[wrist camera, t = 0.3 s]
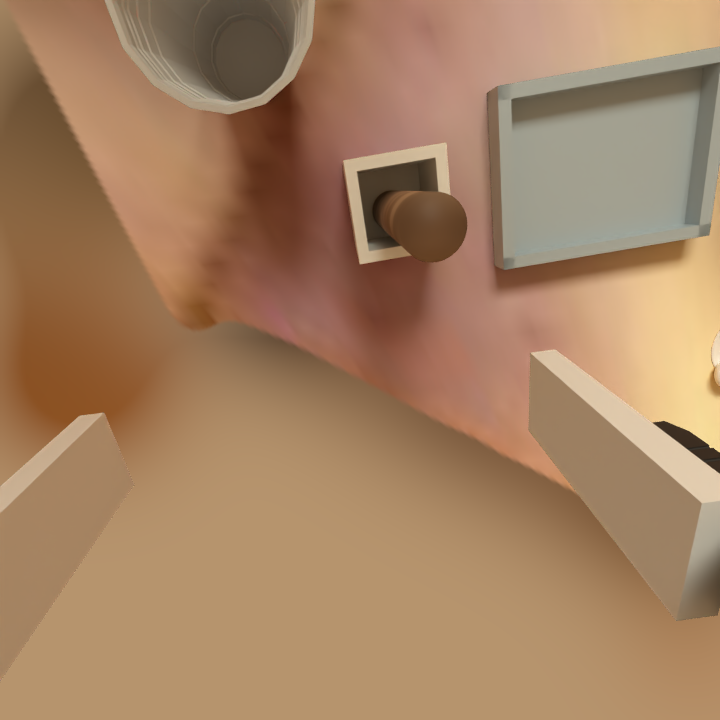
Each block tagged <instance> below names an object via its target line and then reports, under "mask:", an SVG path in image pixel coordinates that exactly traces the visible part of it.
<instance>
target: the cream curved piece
mask: <svg viewBox="0 0 720 720" xmlns="http://www.w3.org/2000/svg"><path fill="white" fill-rule="evenodd" d="M711 359H712V363H713V365H714V367H715V371H714V379H715V381H716V383H717V384H718V385H719V386H720V330H719V332H718V334H717V335H716V337H715V339H714V342H713V345H712V349H711Z"/></svg>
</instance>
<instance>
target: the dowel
mask: <svg viewBox="0 0 720 720" xmlns="http://www.w3.org/2000/svg"><path fill="white" fill-rule="evenodd" d="M372 214H373V217H374V220H375V221H376V223H377V224H378V225H379V226H380V227H381V228H382V229H383V230H384V231H385V232H387V233H388V234H389V235H390V236H391V237H392V238H393V239H394V240H395V241H396V242H397V243H399V244H400V245H401V246H402V247H403V248H404V249H405V250H406V251H407V252H408V253H409V254H411V255H412V256H413V257H414V258H416V259H418V260H420V261H424V262H438V261H442V260H445V259H447V258H448V257H450V256H451V255H453V254H454V253H455V252H456V251H457V250H458V249H459V247H460V246H461V245H462V243H463V241H464V238H465V235H466V231H467V218H466V214H465V211H464V209H463V207H462V205H461V204H460V203H459V202H458V201H457V200H456V199H455V198H454V197H452V196H451V195H449V194H446V193H443V192H432V191H394V190H390V191H385V192H383V193H381V194H380V195H379V196H378V197H377V198H376V200H375V201H374V204H373V208H372Z"/></svg>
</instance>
